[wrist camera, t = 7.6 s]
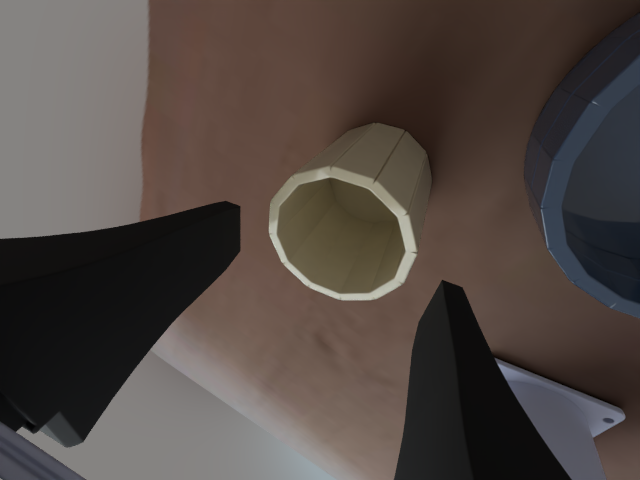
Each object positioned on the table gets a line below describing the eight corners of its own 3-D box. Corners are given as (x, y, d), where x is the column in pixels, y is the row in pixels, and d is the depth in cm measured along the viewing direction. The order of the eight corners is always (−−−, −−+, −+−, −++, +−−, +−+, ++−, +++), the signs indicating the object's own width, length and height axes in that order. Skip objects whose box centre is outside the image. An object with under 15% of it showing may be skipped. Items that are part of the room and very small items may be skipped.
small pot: (409, 237, 17) (387, 320, 12) (319, 206, 18) (265, 270, 13) (449, 141, 14) (442, 199, 9) (337, 111, 15) (273, 147, 10)
